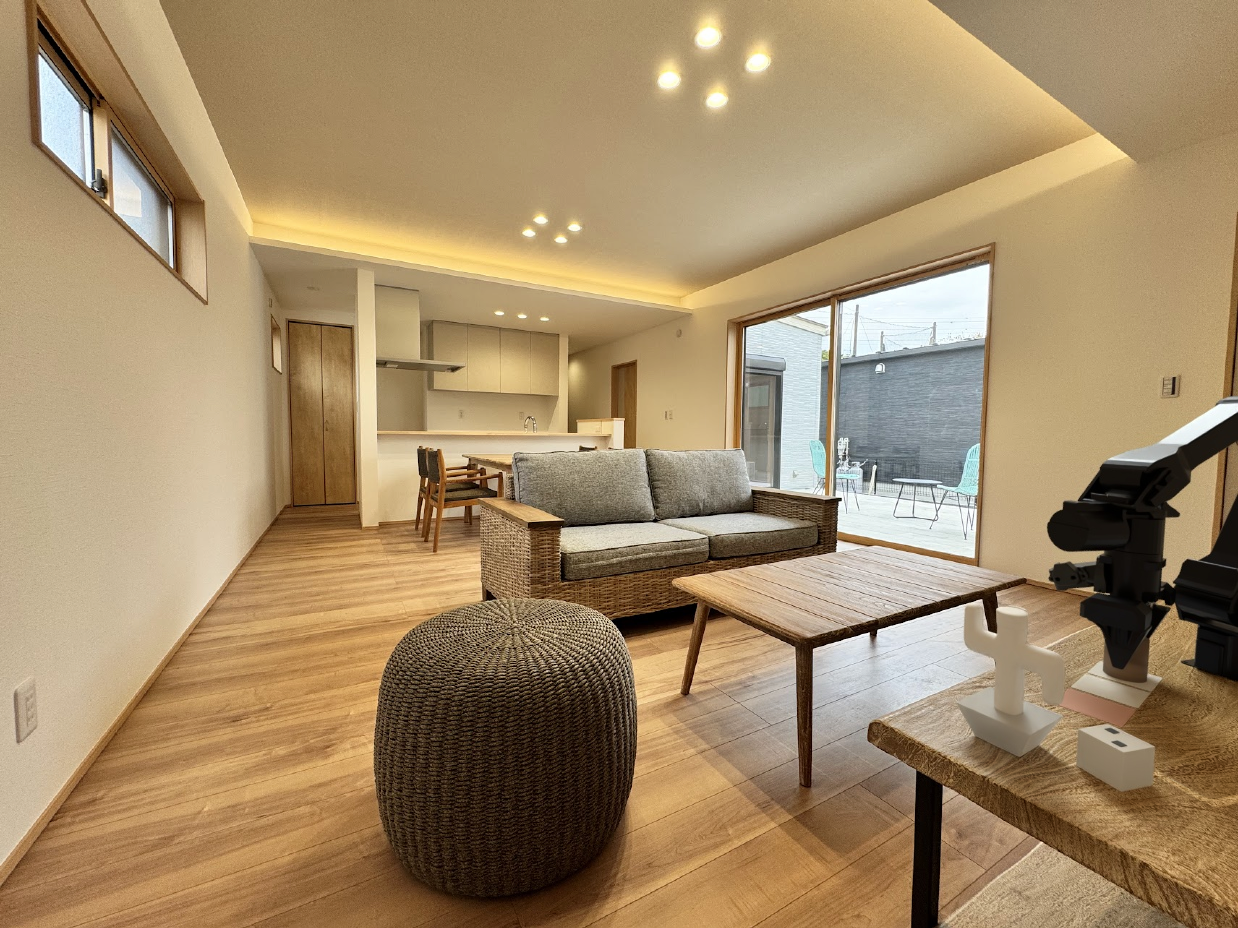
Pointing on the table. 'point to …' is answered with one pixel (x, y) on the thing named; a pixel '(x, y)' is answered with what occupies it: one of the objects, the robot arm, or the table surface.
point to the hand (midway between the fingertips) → (1125, 660)
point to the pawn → (1130, 665)
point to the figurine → (1011, 682)
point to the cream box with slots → (1115, 757)
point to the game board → (1107, 696)
